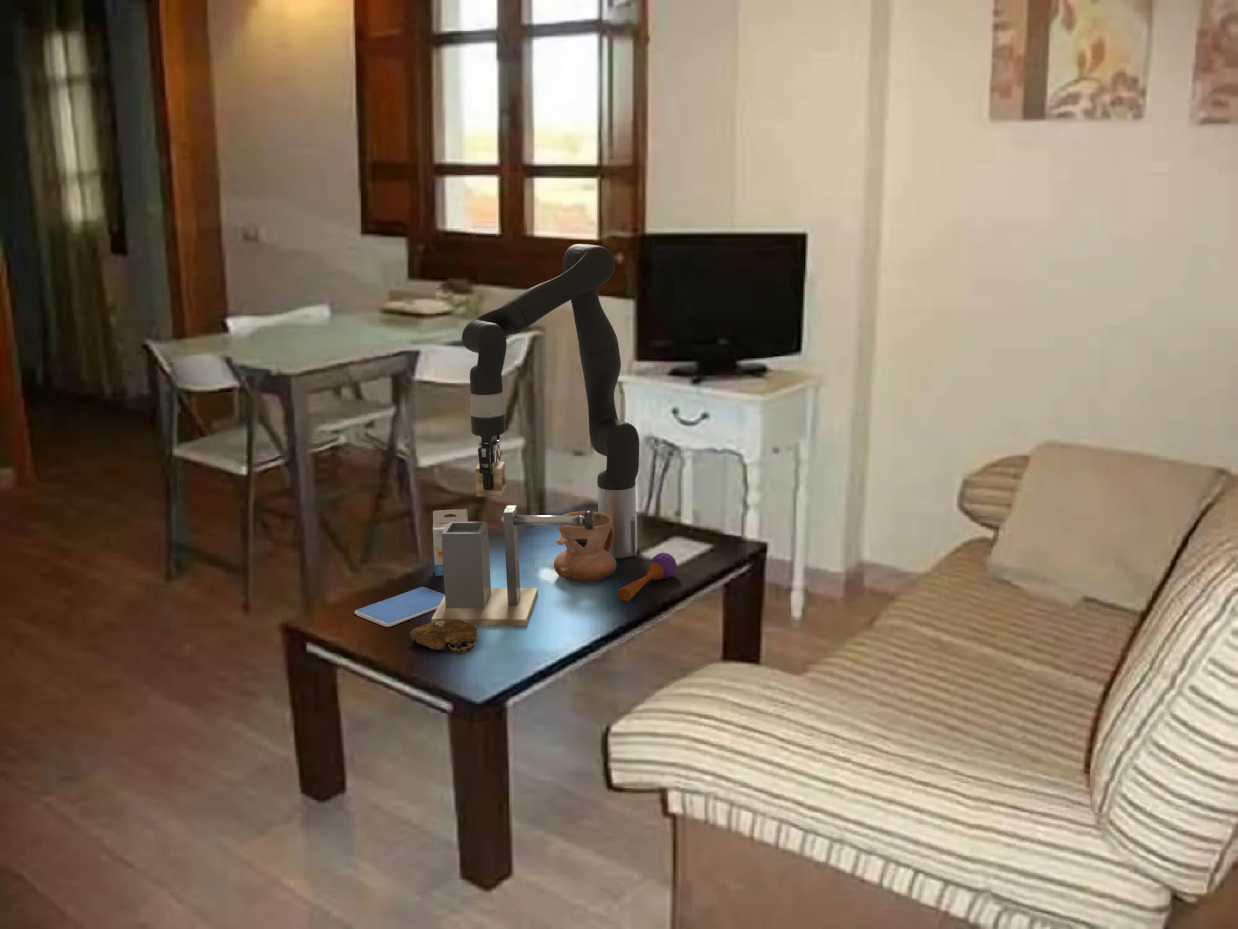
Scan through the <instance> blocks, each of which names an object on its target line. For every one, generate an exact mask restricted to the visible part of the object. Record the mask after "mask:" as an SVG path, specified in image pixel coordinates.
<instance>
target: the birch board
mask: <svg viewBox="0 0 1238 929" xmlns="http://www.w3.org/2000/svg"><path fill="white" fill-rule="evenodd" d="M538 589H539V588H538V587H520V593H521V598H520V600H519V603H518V605H517V606H508V595H507V587H491V596H490V598H489V600H488V602H487V604H486V606H485V609H480V608H446V604H445V596H444V598H443V599H442V601H441V603H440V605H439V606H438V608H437V609H436V610H435V612H434V613H433V615H432V617H431V622H435V621H439V620H450V619H457V620H462V621H464V622H467V623H470V624H471V626H473V625H474V626H476V627H478V626H480V627H485V626H486V627H488V626H489V627H501V626H502V627H527V625H528V623H529V619H530V617H531V614H532V612H533V609H534V606H535V603H536V602H537V601H536V600H537V598H538V595H539V590H538Z"/></svg>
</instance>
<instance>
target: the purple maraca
mask: <svg viewBox="0 0 1238 929" xmlns="http://www.w3.org/2000/svg"><path fill="white" fill-rule="evenodd" d="M676 570H677V562H676V559H675V557H674V556H673V555H672V554H671V553H668V552H658V553H657V554H655V555H654V556H653V557H652V558H651V562H650V564H649V565H648V569H647V572H646V575H644V576H642V577H640V578H638V579H636V580H635V581H632V582H630V583H628V584H626V585H625V586H623V587H620V588H619V589H618V591H617V594H618V597H619V600H620V601H624V602H629V601H631V600H632V599H633V598H634V597H635V595H637V593H638V592H640V590H641V589H642V588H643V587H644V586H645V585H646V584H647V583H648V582H649V581H650V580H657V581H659V580H662V579H663V580H664V579H670V577H672V576H673V575H674V574H675V573H676Z"/></svg>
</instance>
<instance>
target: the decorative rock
mask: <svg viewBox="0 0 1238 929" xmlns="http://www.w3.org/2000/svg"><path fill="white" fill-rule="evenodd" d="M477 630H478V626H474V625H473V626H471V624H470V623H467V622H464V621H462V620H457V619H450V620H439V621H435V622H432V621H431V622H428V623H426V624H422V625H421V626H418V627H415V628H413V629H412V630H411V631H410V633H409V634H410V638H411V639H412V642H416V643H417V644H418V645H421V646H425V647H427V648H430V649H431V650H438V651H440V650H445V649H446V650H448V651H449V650H450V651H453V652H454V653H460V654H463V653H466V652H468V651H470V650H472V649H473V648H474V646H475V645H476V644H477V643H478V642H477V637H478V634H477V633H478V631H477Z"/></svg>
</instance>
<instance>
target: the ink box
mask: <svg viewBox="0 0 1238 929" xmlns="http://www.w3.org/2000/svg"><path fill="white" fill-rule="evenodd" d="M449 514H451V515H455V516H448V515H449ZM445 516H446V517H445ZM468 519H469V517H468V509H466V508H462V509H445V510H444V509H443V510H433V511H432V520H433V521H432V538H433V539H432V542H433V558H434V559H433V560H434V573H435V574H434V575H435V577H444V573H443V557H442V532H443V531H444V529H445V528H446V526H447V525H448V523H449V522H469V521H468Z"/></svg>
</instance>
